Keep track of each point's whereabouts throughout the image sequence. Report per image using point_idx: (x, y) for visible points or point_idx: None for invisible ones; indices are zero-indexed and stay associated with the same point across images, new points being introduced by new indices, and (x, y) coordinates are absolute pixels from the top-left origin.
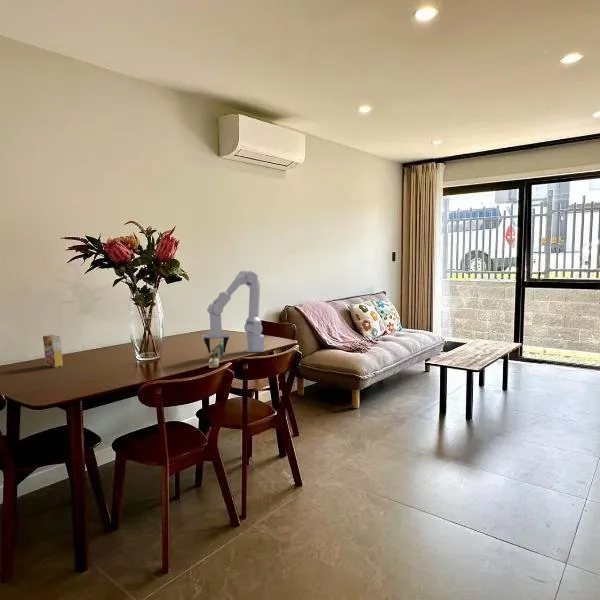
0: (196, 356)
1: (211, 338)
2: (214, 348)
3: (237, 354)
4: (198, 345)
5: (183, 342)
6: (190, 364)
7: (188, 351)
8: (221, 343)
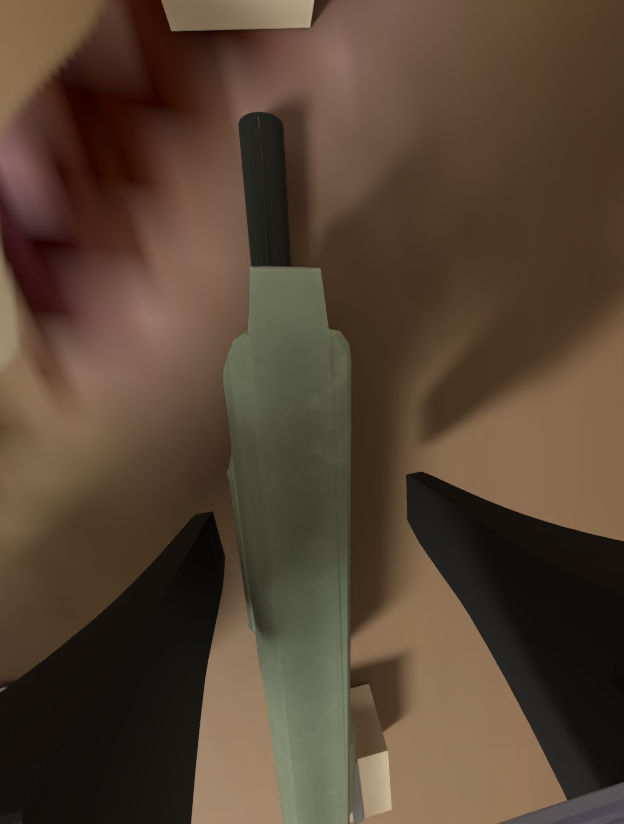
0: (521, 510)
1: (588, 813)
2: (333, 332)
3: (104, 606)
4: (513, 787)
5: None
6: (588, 105)
7: None
8: (285, 740)
